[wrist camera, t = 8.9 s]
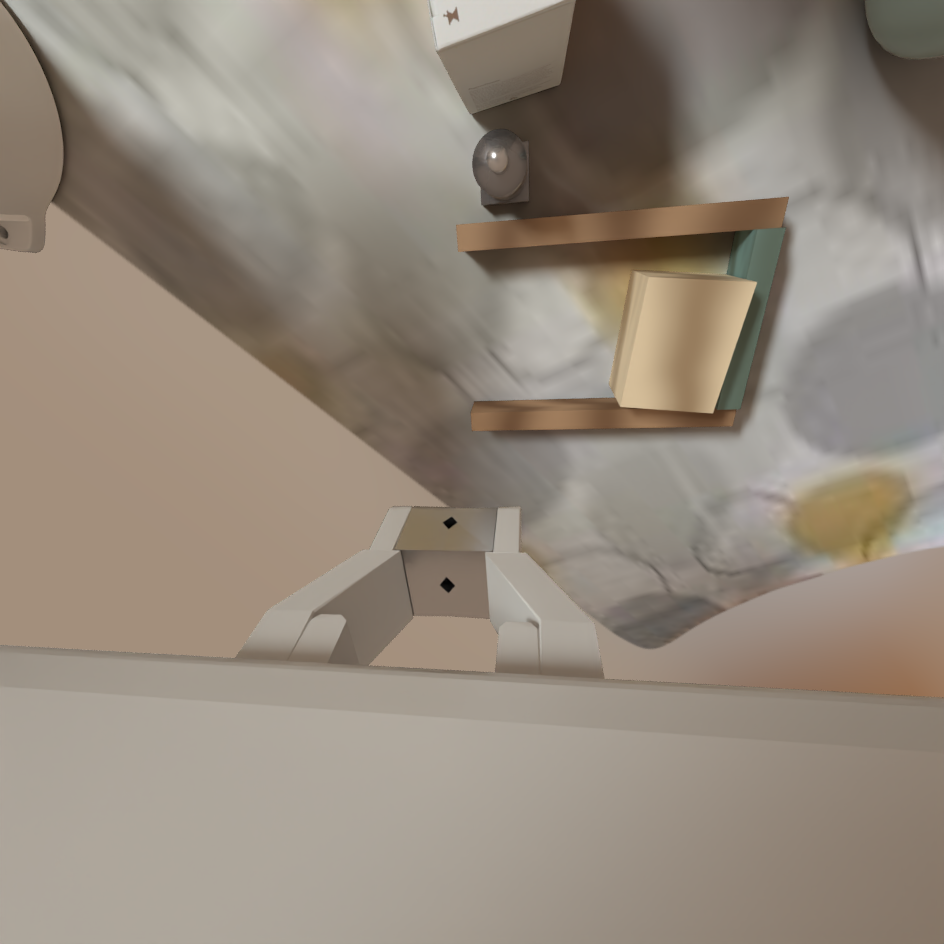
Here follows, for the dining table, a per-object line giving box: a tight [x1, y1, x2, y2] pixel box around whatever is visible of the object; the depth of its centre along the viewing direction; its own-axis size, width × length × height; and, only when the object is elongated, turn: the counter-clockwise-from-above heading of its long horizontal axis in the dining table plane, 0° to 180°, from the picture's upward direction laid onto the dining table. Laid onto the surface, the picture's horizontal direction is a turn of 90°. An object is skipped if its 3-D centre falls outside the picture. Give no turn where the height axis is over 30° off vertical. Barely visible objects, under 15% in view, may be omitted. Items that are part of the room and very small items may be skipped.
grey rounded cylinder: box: [472, 129, 529, 206], centre depth 24 cm, size 3×3×8 cm
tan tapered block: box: [609, 270, 757, 413], centre depth 29 cm, size 6×8×5 cm
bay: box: [456, 197, 789, 431], centre depth 30 cm, size 19×14×3 cm
